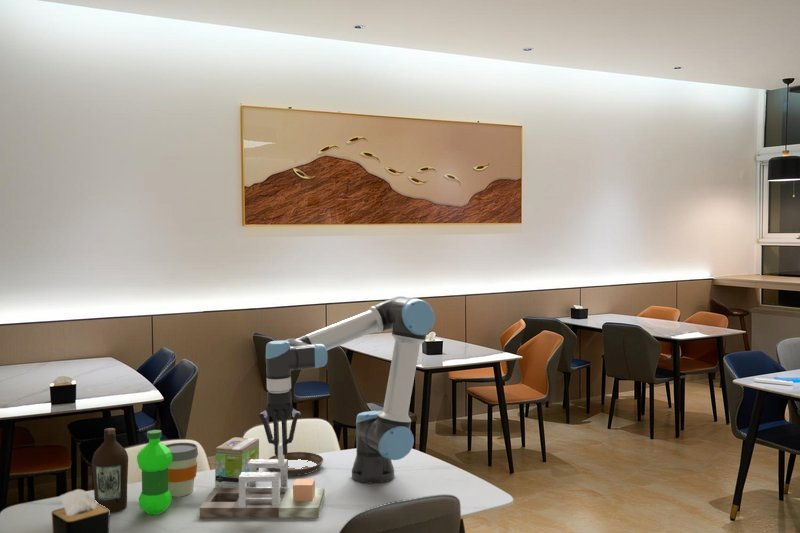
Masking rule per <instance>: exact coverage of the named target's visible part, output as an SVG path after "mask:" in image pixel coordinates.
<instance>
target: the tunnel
mask: <svg viewBox="0 0 800 533" xmlns="http://www.w3.org/2000/svg"><path fill="white" fill-rule="evenodd" d="M248 468H250V472H242V473H241V474H240V476H239V508H246V506H247V504H272V508H279V506H280V504H281V498H280V493H286V490H287V488H289V484H288V482H289V480H288V479H289V478H288V476H289V475H288V461H287V459H284V466H278V459H269V458H267V459H265V458H264V459H263V458H259V459H250V461H249V462H248ZM257 468H259V469H270V468H280V472H274V471H259V472H257ZM247 482H250V486H249V487H247ZM258 482H259V483H261V482H267V483H270V482H271V486H258ZM247 488H248V493H272V498H247Z"/></svg>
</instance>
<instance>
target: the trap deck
mask: <svg viewBox="0 0 800 533" xmlns="http://www.w3.org/2000/svg"><path fill="white" fill-rule="evenodd" d="M247 498H272V493H248V487H247ZM280 498H281V504H280V506H279V508H272V504H247V506H246V508H239V488H215V487H214V488H213V489H212V490H211V492H209V494H208V496H207V497H206V498H205V500H204V501H203V502H202V503H201V505H200V506H199V518H202V519H203V518H210V519H211V518H213V519H216V518H222V519H223V518H225V519H226V518H229V519H230V518H237V519H238V518H250V519H251V518H256V519H257V518H259V519H260V518H319V517H320V513H321V510H322V508H323V507H322V506H323V503H324V500H325V487H315V495H314V498H313V501H293V487H288V488H287V490H286V493H280Z"/></svg>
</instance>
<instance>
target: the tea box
mask: <svg viewBox="0 0 800 533" xmlns="http://www.w3.org/2000/svg"><path fill="white" fill-rule="evenodd" d="M250 459H260V439H259V438H253V437H252V438H251V437H250V438H249V437H237V436H235V437H232V438H230V439H229V440H227V441H225V442H223V443H222V444H220V445H218V446H217V447H216V448H215V464H214V465H215V467H214V468H215V471H214V473H215V474H214V475H215V476H214V477H215V479H214V488H239V476H240V474H241V473H242V472H250V468H248V462H249V461H250ZM259 469H260V468H257V472H260V470H259ZM248 487H250V482H247V488H248Z"/></svg>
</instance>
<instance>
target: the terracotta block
mask: <svg viewBox="0 0 800 533" xmlns="http://www.w3.org/2000/svg"><path fill="white" fill-rule="evenodd" d="M315 483H316V479H315V478H296V479H295V480H294V482H293V484H292V488H293V501H313V498H314V495H315V488H316V484H315Z"/></svg>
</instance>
